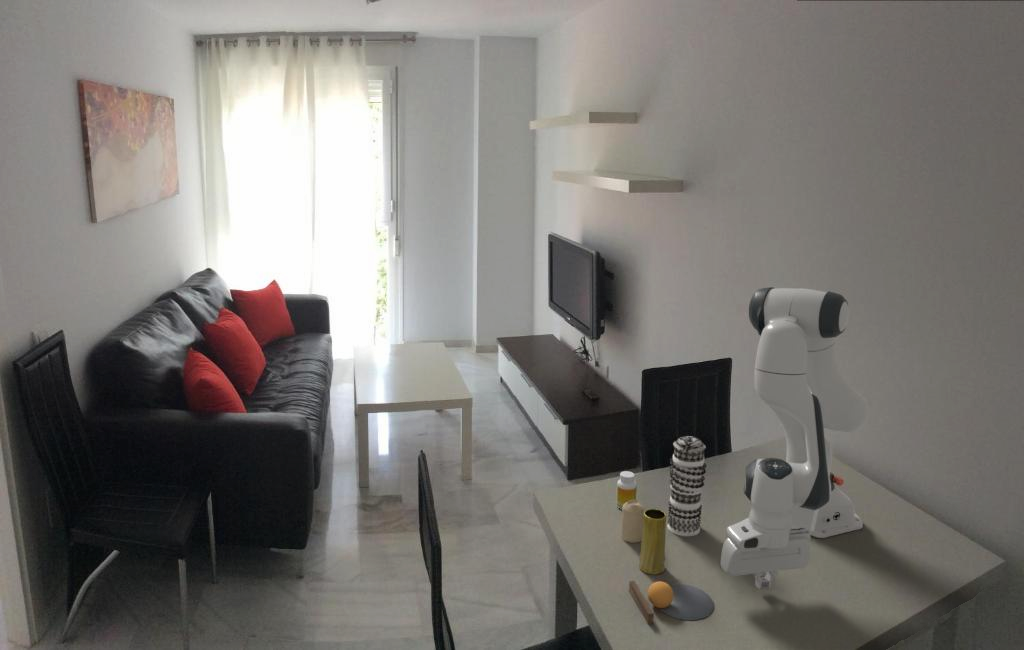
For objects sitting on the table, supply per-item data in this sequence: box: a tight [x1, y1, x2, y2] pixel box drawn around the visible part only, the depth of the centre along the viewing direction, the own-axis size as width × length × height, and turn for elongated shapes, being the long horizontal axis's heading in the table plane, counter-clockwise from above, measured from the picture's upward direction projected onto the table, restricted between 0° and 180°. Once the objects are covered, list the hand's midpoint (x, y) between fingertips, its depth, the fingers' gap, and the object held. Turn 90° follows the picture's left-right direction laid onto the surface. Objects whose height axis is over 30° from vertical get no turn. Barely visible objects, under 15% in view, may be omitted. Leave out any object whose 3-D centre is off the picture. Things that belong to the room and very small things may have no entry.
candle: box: [620, 499, 645, 544], centre depth 191 cm, size 6×6×10 cm
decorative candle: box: [666, 435, 707, 537], centre depth 194 cm, size 9×9×25 cm
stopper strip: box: [628, 580, 655, 625], centre depth 164 cm, size 1×12×2 cm, turn 11°
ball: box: [647, 580, 673, 609], centre depth 164 cm, size 6×6×6 cm
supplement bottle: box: [615, 470, 638, 510], centre depth 207 cm, size 5×5×10 cm
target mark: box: [658, 583, 715, 621], centre depth 166 cm, size 13×13×1 cm
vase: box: [638, 508, 667, 575], centre depth 177 cm, size 6×6×14 cm
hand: (762, 586), depth 169 cm, fingers closed
